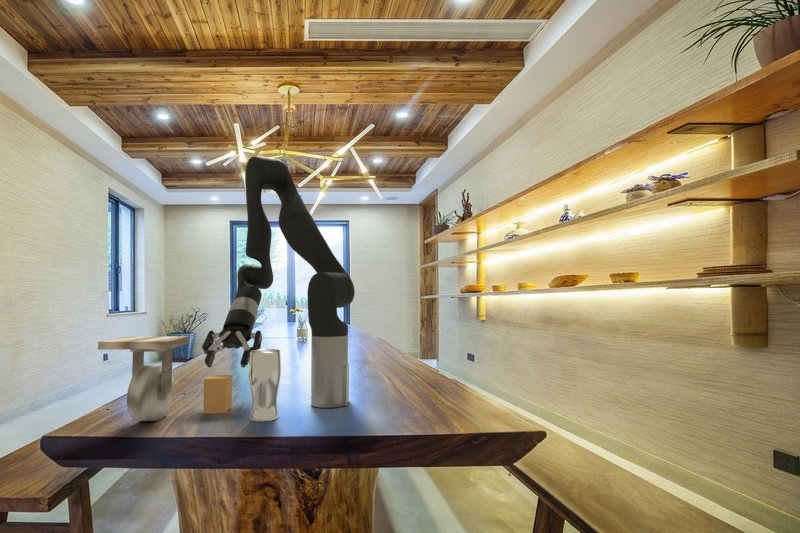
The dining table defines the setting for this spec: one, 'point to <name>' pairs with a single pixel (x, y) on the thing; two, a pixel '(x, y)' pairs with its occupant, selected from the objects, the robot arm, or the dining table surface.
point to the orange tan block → (217, 394)
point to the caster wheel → (148, 374)
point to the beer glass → (264, 383)
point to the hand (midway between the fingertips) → (225, 365)
